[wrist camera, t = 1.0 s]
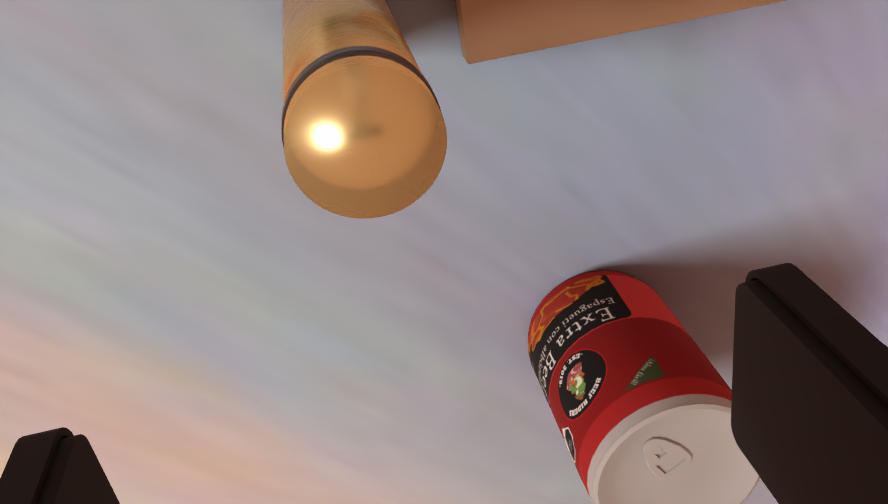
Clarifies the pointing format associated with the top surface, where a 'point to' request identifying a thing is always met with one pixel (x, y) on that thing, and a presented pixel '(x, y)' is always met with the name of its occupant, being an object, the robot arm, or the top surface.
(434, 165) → the brass tube
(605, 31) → the stand board
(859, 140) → the top surface
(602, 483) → the canned food
